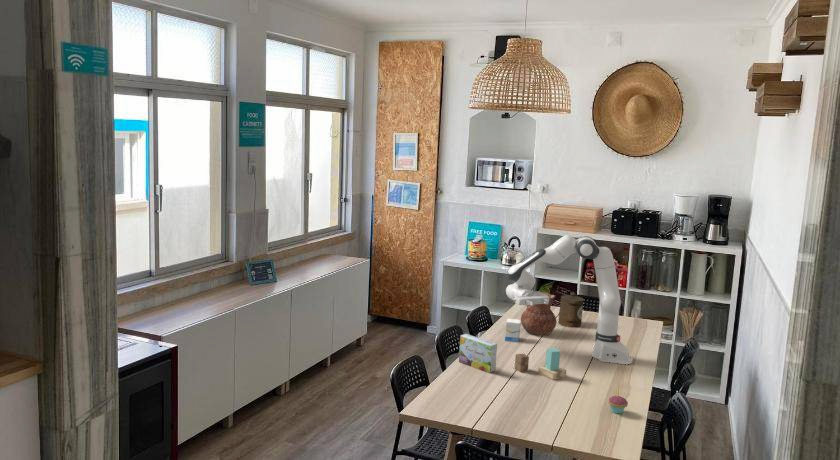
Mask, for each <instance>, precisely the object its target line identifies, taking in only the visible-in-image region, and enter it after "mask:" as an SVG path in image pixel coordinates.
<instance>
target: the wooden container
mask: <svg viewBox="0 0 840 460" xmlns="http://www.w3.org/2000/svg"><path fill="white" fill-rule="evenodd" d="M569 294H570V295H569ZM569 294H566V295H565V294H564V295H561V297H560V305H559V311H558V324H559V325H560V326H562V327H566V328H580V327H581V326H582V318H583V306H584V298H583V297H581V296H578V295H576V293H575V292H574V291H571V292H570V293H569Z"/></svg>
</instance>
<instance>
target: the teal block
mask: <svg viewBox="0 0 840 460" xmlns="http://www.w3.org/2000/svg"><path fill="white" fill-rule="evenodd" d="M560 358H561V351H560V350H559V349H557V348H554V347H553V348H546V357H545V365H544V366H545V367H546V368H547V369H549V370H550V371H551V370H559V367H560Z"/></svg>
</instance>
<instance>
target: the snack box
mask: <svg viewBox="0 0 840 460" xmlns="http://www.w3.org/2000/svg"><path fill="white" fill-rule="evenodd" d="M459 336H460V337H459V339H460V340H459V351H458V352H459V355H458V362H459V363H461V364H463V365H467V366H470V367H472V368H475V369H477V370H479V371H480V370H481V371H483V372H485V373H488V374H492V373H494V372H495V371H496V368H497V367H496V365H497V355H498V354H497V352H498V351H497V350H498V343H495V342H492V341H489V340H486V339H483V338H480V337H477V336H474V335H471V334H469V333H465V334H464V333H463V334H461V335H459Z"/></svg>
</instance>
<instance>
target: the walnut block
mask: <svg viewBox="0 0 840 460" xmlns="http://www.w3.org/2000/svg"><path fill="white" fill-rule="evenodd" d="M514 359H515V360H514V370H516V371H517V372H519V373H526V372H528V371H529V362H530V361H529V360H530V356H529V355H527V354H525V353H518V354H517V353H516V354H515V358H514Z"/></svg>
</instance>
